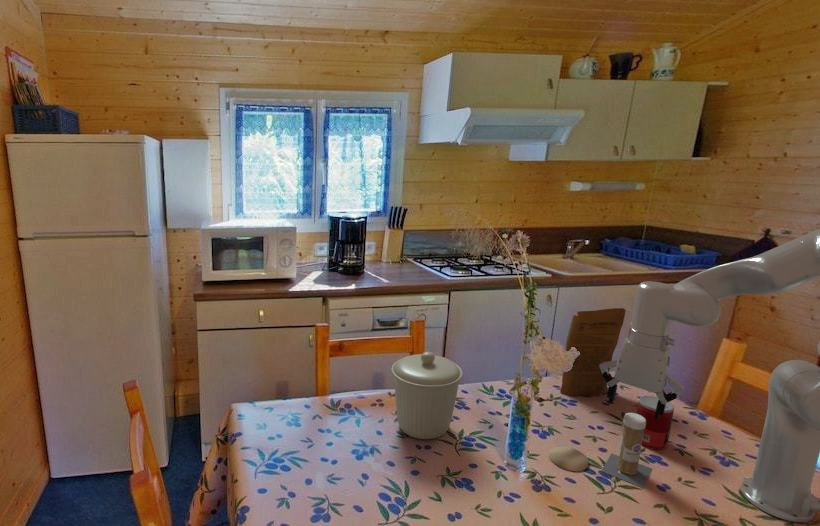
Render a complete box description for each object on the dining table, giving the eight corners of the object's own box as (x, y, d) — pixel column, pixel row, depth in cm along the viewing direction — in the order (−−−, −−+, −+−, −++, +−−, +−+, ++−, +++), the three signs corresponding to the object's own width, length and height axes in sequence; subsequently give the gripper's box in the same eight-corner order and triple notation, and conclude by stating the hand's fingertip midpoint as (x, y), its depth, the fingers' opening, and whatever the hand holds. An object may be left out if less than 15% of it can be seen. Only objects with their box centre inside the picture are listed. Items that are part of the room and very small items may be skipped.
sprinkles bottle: (628, 478, 106) (637, 424, 103) (611, 466, 110) (619, 414, 107) (641, 472, 108) (651, 420, 105) (625, 461, 112) (633, 410, 109)
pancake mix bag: (619, 397, 145) (633, 310, 139) (563, 400, 141) (574, 311, 135) (607, 387, 151) (619, 304, 146) (552, 389, 148) (562, 304, 142)
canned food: (671, 452, 117) (678, 412, 115) (637, 447, 119) (643, 407, 116) (661, 435, 124) (668, 397, 122) (629, 431, 126) (635, 393, 124)
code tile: (651, 468, 110) (651, 468, 110) (643, 488, 103) (643, 488, 103) (611, 453, 115) (611, 453, 115) (601, 471, 108) (601, 470, 108)
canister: (471, 439, 118) (478, 361, 114) (406, 455, 110) (411, 372, 106) (437, 405, 134) (441, 336, 130) (378, 417, 126) (381, 343, 122)
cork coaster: (593, 458, 113) (593, 456, 113) (581, 476, 106) (581, 474, 106) (556, 443, 118) (556, 441, 118) (543, 460, 111) (543, 458, 111)
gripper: (694, 344, 101) (679, 416, 104) (610, 323, 110) (598, 390, 114) (690, 354, 95) (674, 430, 98) (601, 331, 104) (590, 401, 108)
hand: (633, 409), depth 106 cm, fingers open, 9 cm apart
